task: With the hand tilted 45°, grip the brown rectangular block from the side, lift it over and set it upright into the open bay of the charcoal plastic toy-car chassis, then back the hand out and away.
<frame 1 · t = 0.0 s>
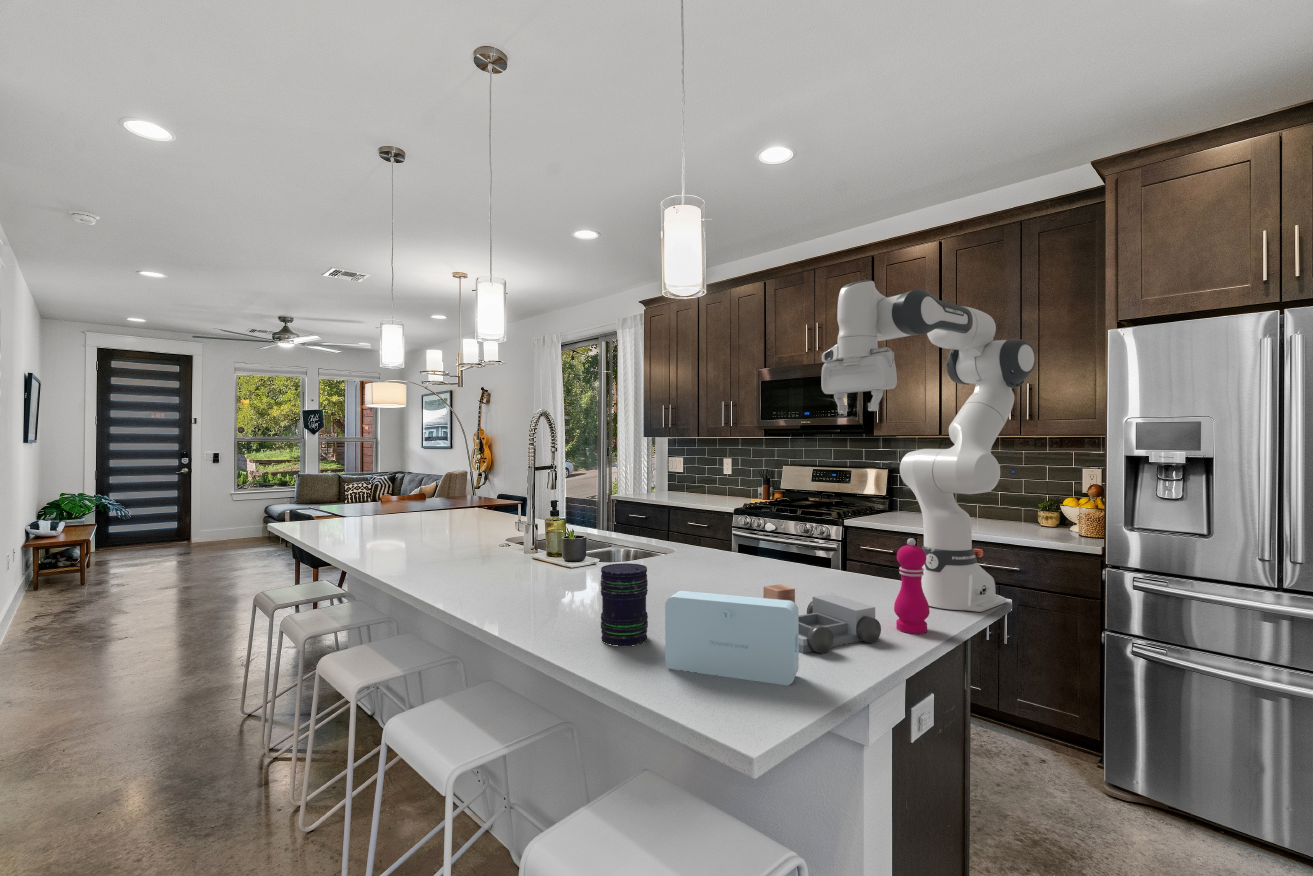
hand: (857, 411, 146), 48 cm above the counter, tool pointing down, fingers open, 8 cm apart
light blue box: (730, 673, 114), on the counter
chassis: (819, 636, 134), on the counter
brown rectangular block: (779, 622, 145), on the counter
storage jar: (624, 640, 133), on the counter
pepper mill: (911, 630, 139), on the counter
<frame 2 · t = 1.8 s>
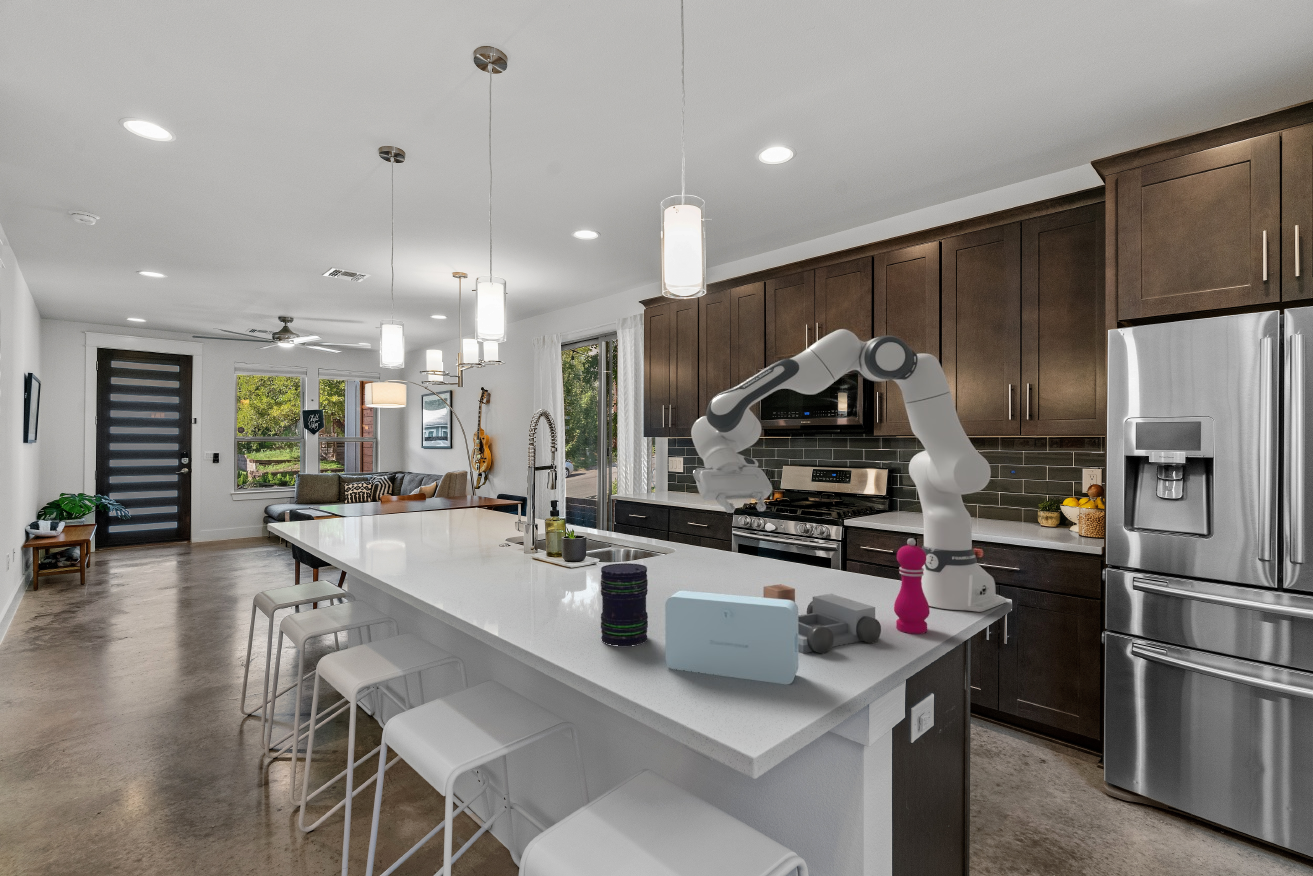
hand: (747, 510, 155), 24 cm above the counter, tool tilted 45°, fingers open, 8 cm apart
nothing on the counter moved.
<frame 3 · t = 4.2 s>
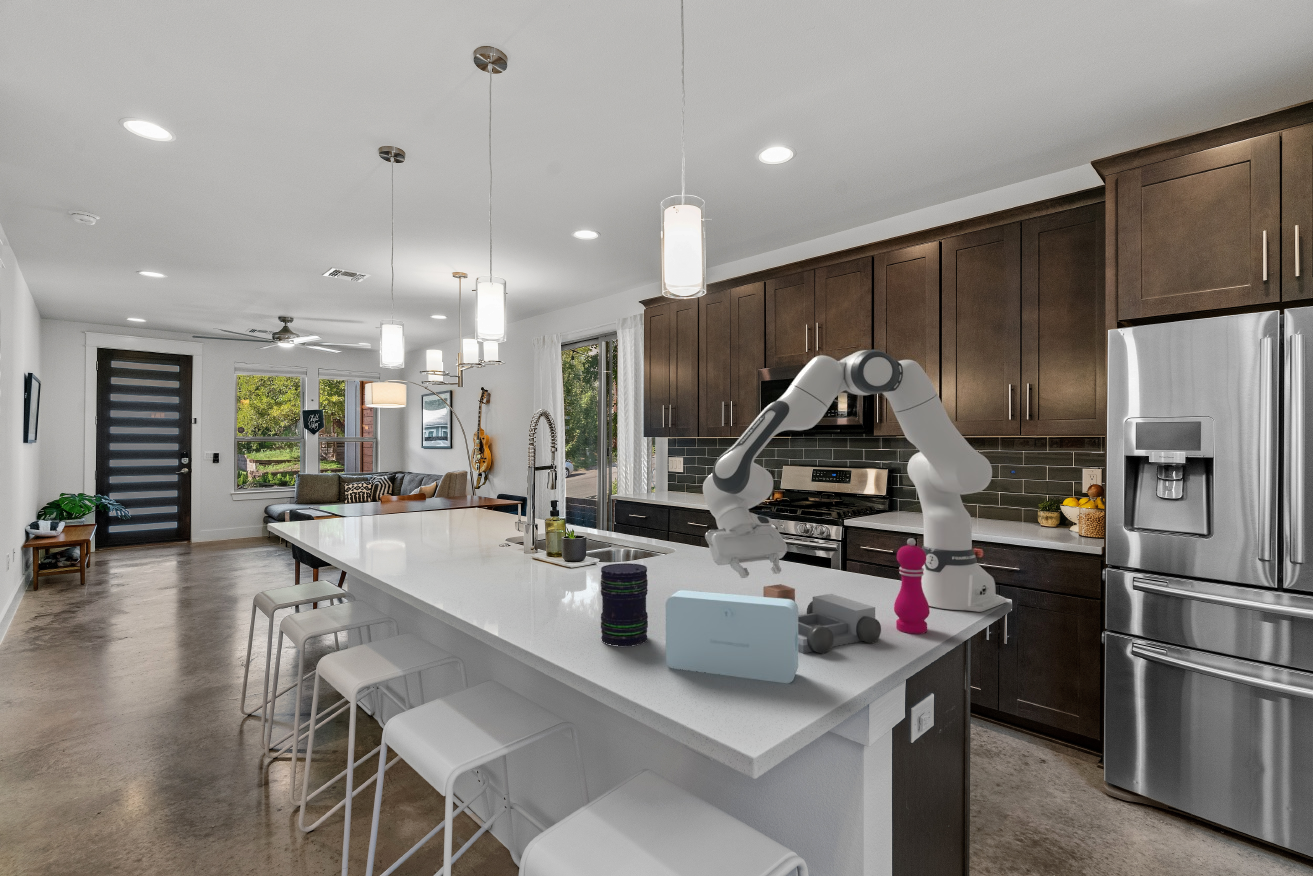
hand: (762, 574, 150), 10 cm above the counter, tool tilted 45°, fingers open, 8 cm apart
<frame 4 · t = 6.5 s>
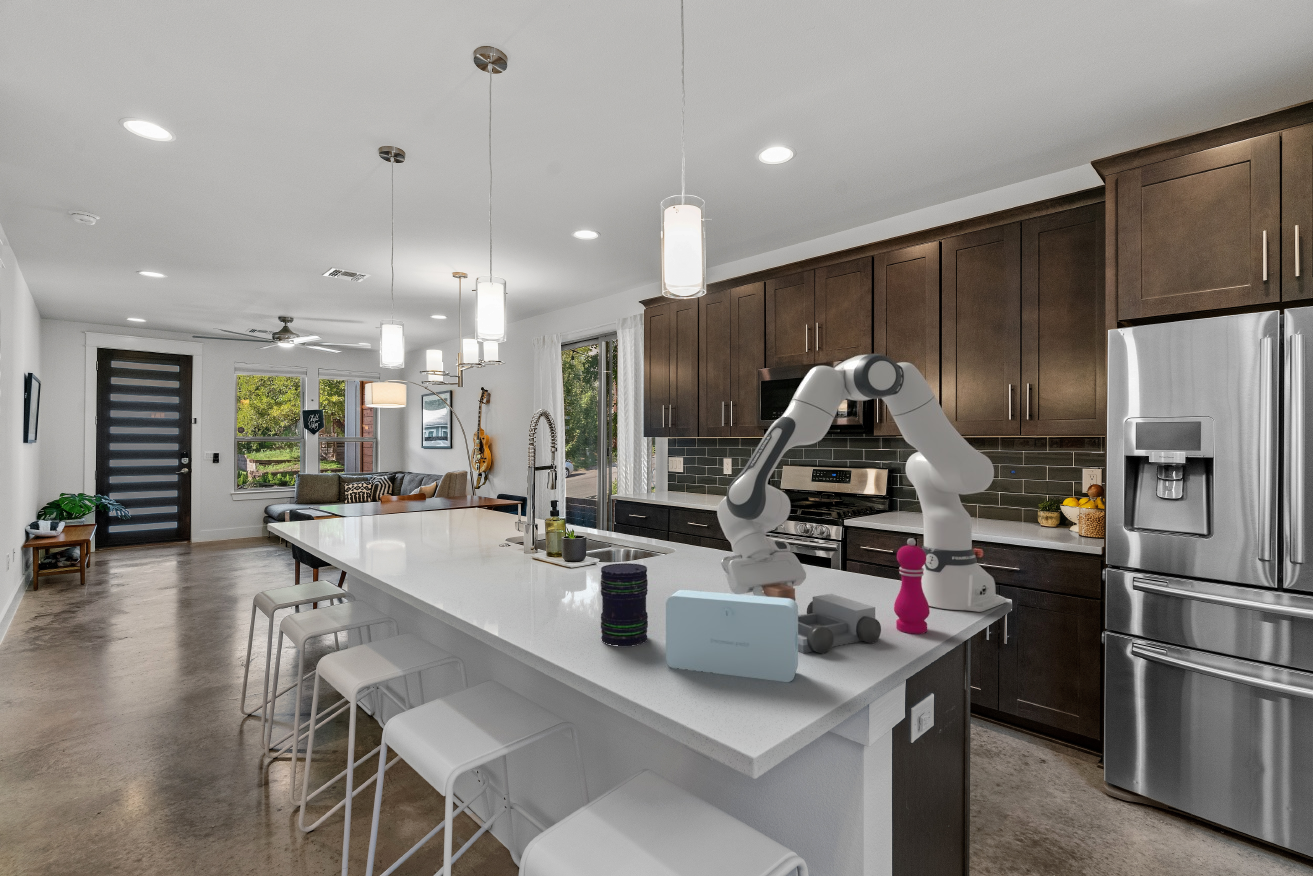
hand: (780, 603, 144), 4 cm above the counter, tool tilted 45°, fingers closed on brown rectangular block, 5 cm apart
brown rectangular block: (779, 622, 144), on the counter, touching gripper
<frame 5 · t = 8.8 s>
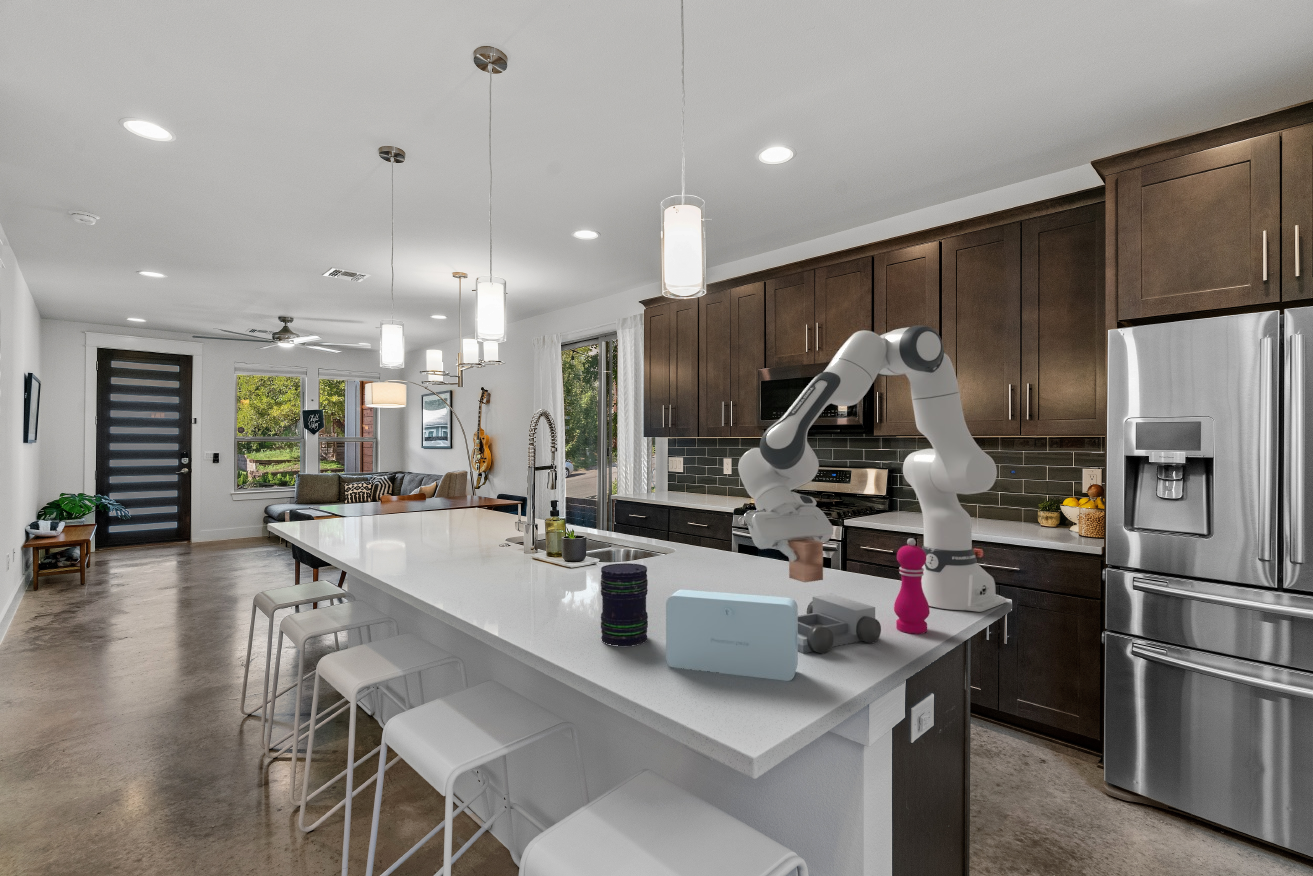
hand: (807, 558, 136), 16 cm above the counter, tool tilted 45°, fingers closed on brown rectangular block, 5 cm apart
brown rectangular block: (806, 578, 137), point 12 cm above the counter, touching gripper
when the fingers open (7 cm above the counter, at t = 11.3 s): brown rectangular block drops 1 cm, resting on chassis.
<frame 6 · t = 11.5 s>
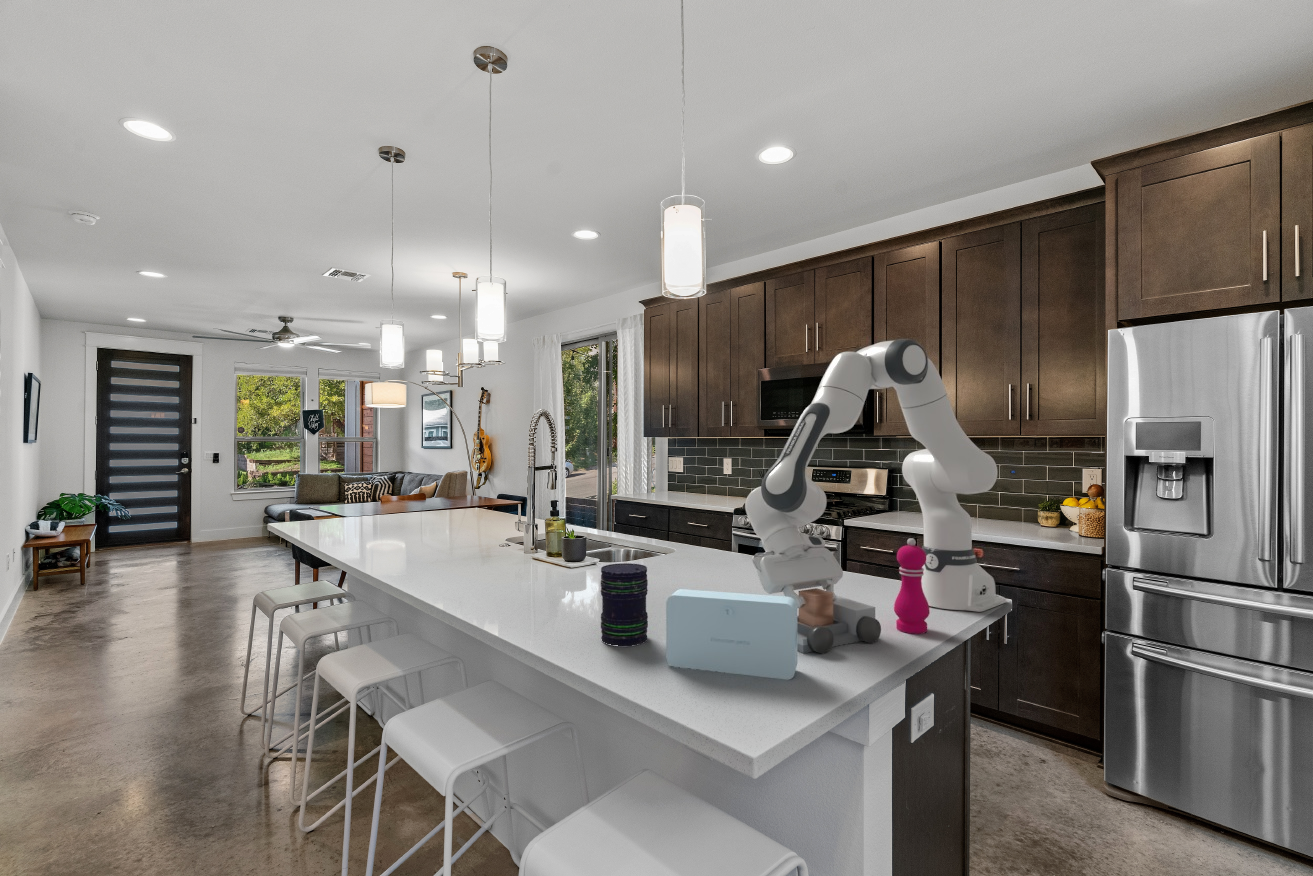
hand: (817, 603, 133), 7 cm above the counter, tool tilted 45°, fingers open, 7 cm apart
brown rectangular block: (815, 630, 134), point 1 cm above the counter, touching chassis
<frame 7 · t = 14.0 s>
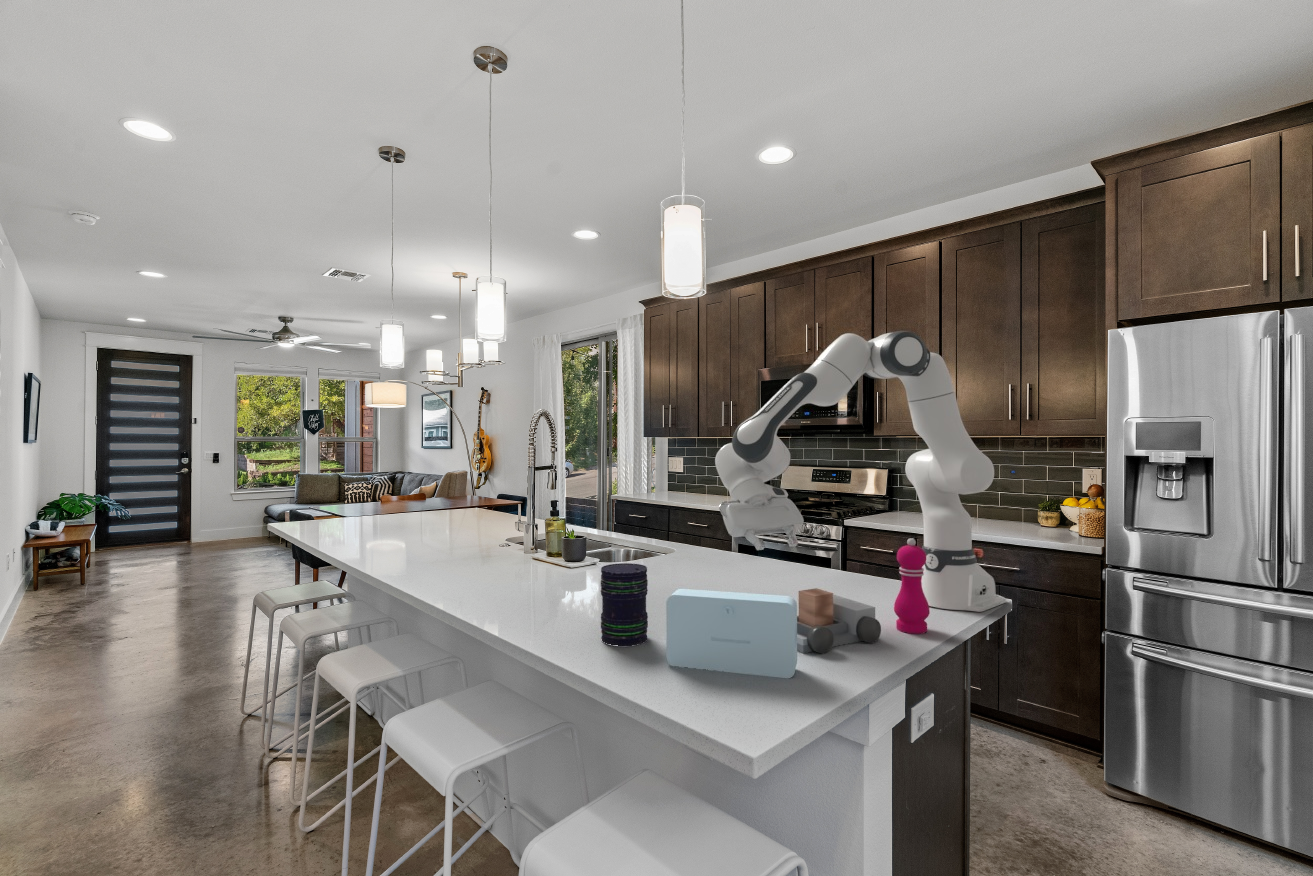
hand: (778, 546, 145), 17 cm above the counter, tool tilted 45°, fingers open, 8 cm apart
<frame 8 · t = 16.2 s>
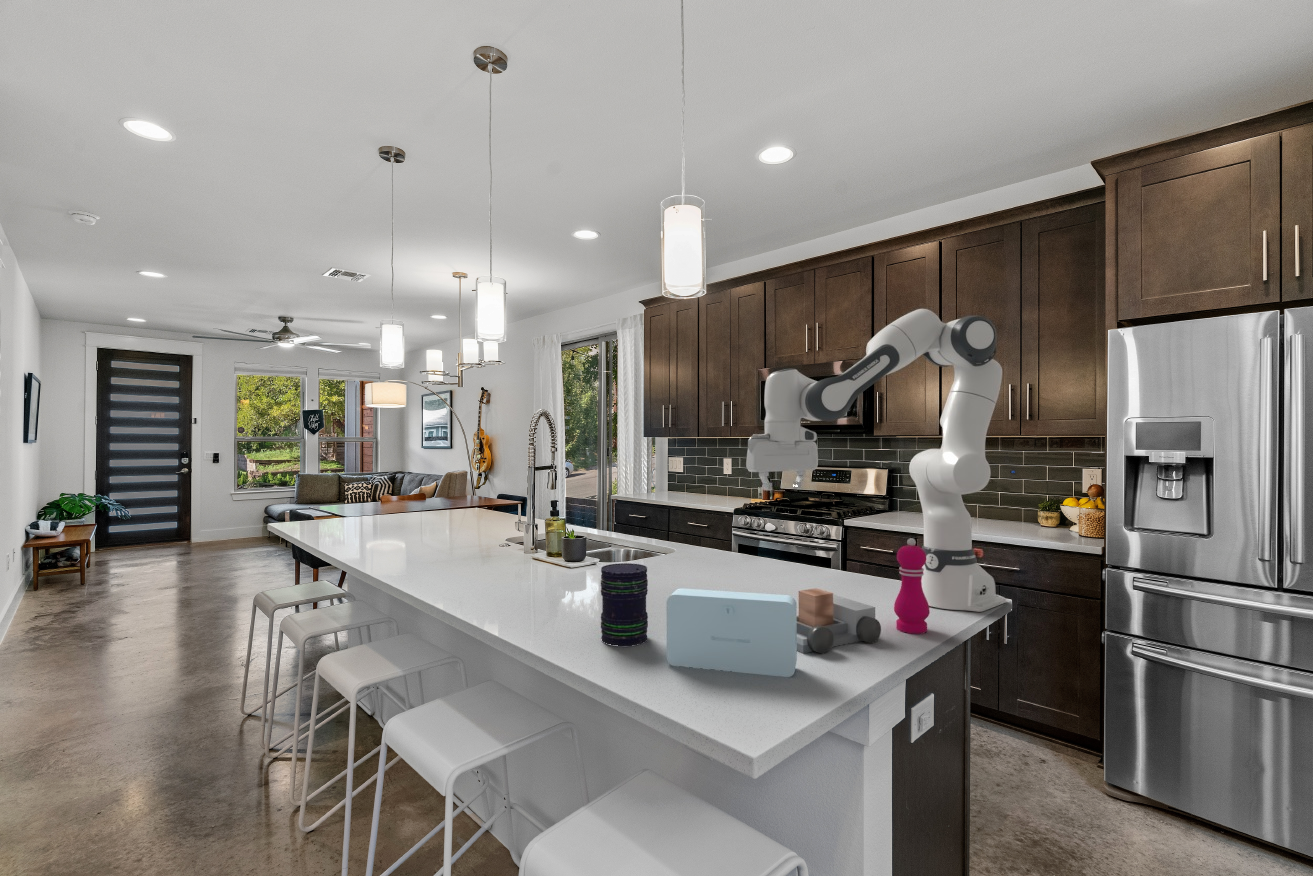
hand: (782, 489, 159), 29 cm above the counter, tool pointing down, fingers open, 8 cm apart
at the end: brown rectangular block 0.1 cm from the target spot on the chassis, point 1.5 cm above the chassis's base; brown rectangular block tilted 0°; the gripper is holding nothing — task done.
